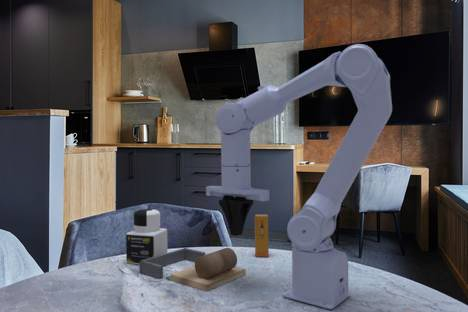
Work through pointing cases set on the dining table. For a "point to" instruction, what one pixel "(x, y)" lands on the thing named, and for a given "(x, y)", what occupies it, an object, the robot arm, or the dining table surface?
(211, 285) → the tan flat square slab
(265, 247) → the supplement box
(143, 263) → the gray u-shaped frame
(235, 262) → the roller
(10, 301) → the dining table surface
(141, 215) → the medicine bottle
